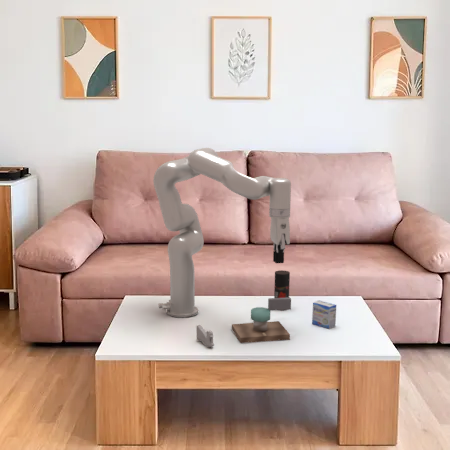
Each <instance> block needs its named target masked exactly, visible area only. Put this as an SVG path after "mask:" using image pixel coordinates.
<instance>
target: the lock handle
mask: <svg viewBox="0 0 450 450" xmlns="http://www.w3.org/2000/svg"><path fill="white" fill-rule="evenodd" d="M291 309H292V298H291V297H290V296H289V297H286V298H274V297H273V298H271V297H270V298H268V301H267V307H263V306H262V307H261V306H257V307H253V308H251V309H250V320H251V321H253V322H254V321H258V322H265V321H267V322H269V321H270V320H271V311H279V310H285V311H287V310H291Z"/></svg>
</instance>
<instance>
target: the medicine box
mask: <svg viewBox="0 0 450 450" xmlns="http://www.w3.org/2000/svg"><path fill="white" fill-rule="evenodd" d="M311 316H312V317H311V323H312V325H314V326H317V327H321V328H324V329H328V330H330V329H333V328H335V327H336V318H337V304H335V303H331V302H327V301H323V300H315V301H313V302H312V315H311Z"/></svg>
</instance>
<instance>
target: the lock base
mask: <svg viewBox="0 0 450 450" xmlns="http://www.w3.org/2000/svg"><path fill="white" fill-rule="evenodd" d="M231 331H232V332H233V334H234V335H235V337H236V339H237V341H239V343H240V344H248V343H263V342H274V341H275V342H279V341H290V340H291V334H290V333H289V331H288V329H286V328H285V327H284V325H283V324H282V323H281V322H280V321H278V320H276V321H265V322H258V321H253V322H245V323H231Z"/></svg>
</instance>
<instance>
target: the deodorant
mask: <svg viewBox="0 0 450 450" xmlns="http://www.w3.org/2000/svg"><path fill="white" fill-rule="evenodd" d="M290 274H291V273H290V271H288V270H275V271H274V290H273V291H274V292H273V293H274V296H273V298H286V297H290V278H291V275H290ZM278 311H281V312H282V311H283V312H284V311H286V310H278Z"/></svg>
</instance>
